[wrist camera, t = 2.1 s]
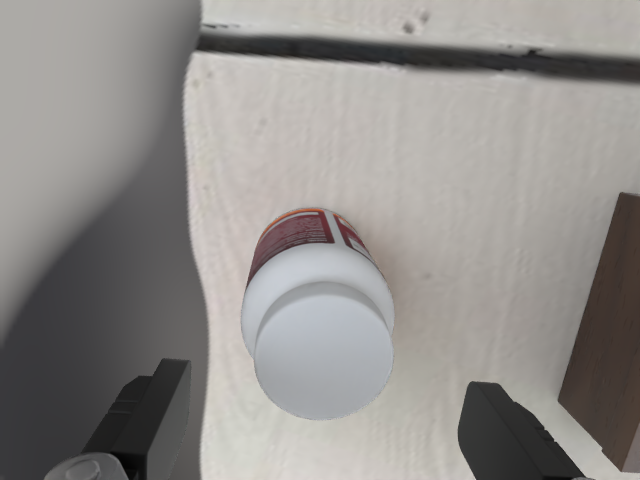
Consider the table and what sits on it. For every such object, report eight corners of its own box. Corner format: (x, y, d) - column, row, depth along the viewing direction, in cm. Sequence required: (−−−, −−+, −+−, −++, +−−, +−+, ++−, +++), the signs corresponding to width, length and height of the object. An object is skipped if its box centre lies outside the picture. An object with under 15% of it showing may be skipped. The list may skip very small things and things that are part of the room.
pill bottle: (244, 295, 25) (208, 422, 14) (269, 193, 23) (250, 250, 13) (346, 318, 26) (384, 454, 15) (376, 220, 24) (441, 296, 14)
